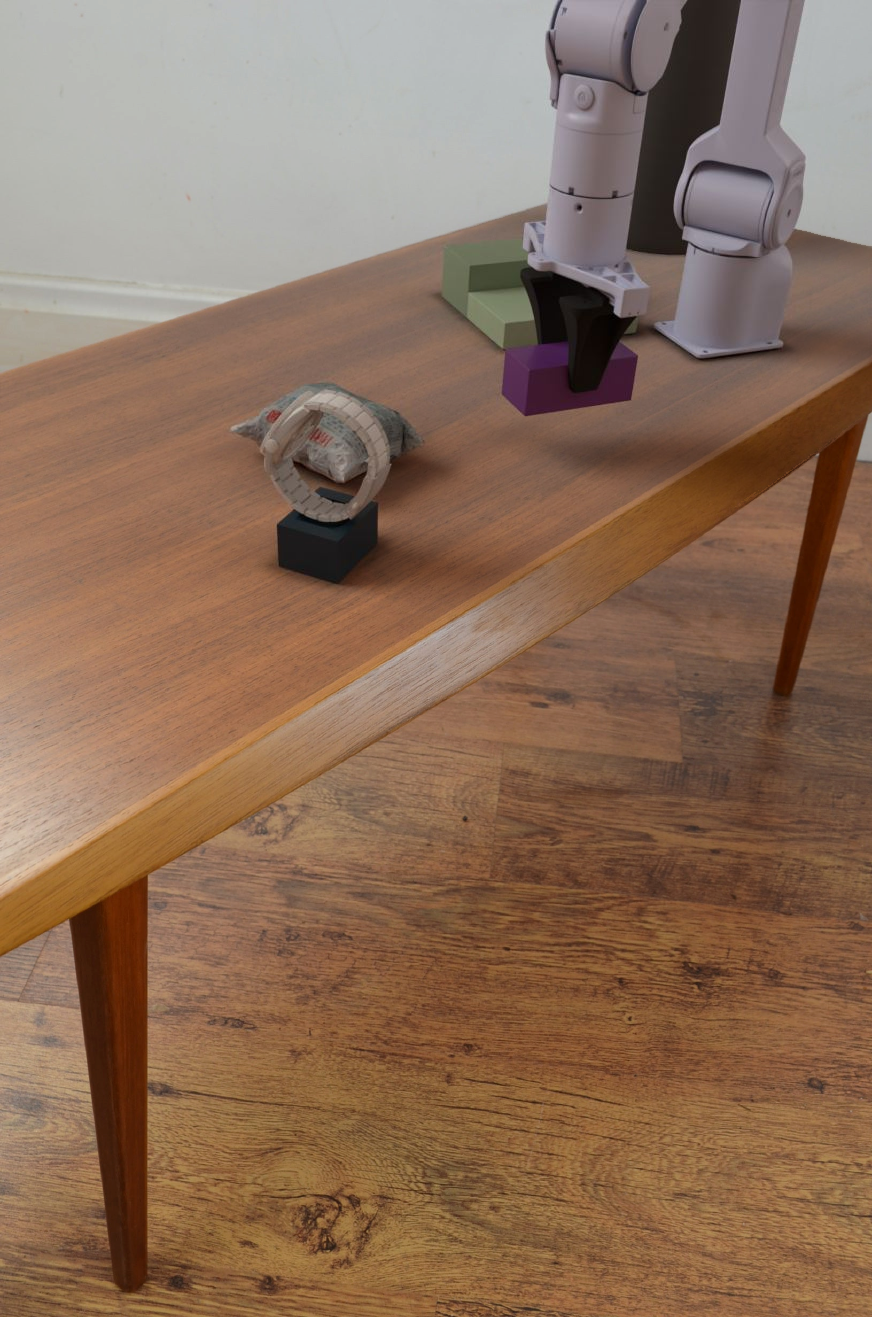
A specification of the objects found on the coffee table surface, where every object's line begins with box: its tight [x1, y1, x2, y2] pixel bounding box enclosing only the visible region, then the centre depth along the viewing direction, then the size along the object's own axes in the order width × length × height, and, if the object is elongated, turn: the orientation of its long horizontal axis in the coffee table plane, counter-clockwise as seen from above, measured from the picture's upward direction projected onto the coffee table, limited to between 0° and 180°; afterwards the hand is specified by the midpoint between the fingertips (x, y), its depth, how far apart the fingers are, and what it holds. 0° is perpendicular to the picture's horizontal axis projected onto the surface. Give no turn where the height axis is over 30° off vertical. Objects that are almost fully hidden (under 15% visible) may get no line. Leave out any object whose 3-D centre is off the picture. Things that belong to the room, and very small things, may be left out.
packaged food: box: [229, 381, 425, 484], centre depth 84 cm, size 9×12×5 cm
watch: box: [259, 389, 392, 585], centre depth 72 cm, size 6×8×11 cm
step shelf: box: [441, 237, 639, 350], centre depth 110 cm, size 14×14×5 cm
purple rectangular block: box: [501, 341, 639, 417], centre depth 85 cm, size 9×4×4 cm, turn 113°
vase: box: [626, 0, 741, 255], centre depth 124 cm, size 14×14×29 cm
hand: (568, 376), depth 86 cm, fingers closed on purple rectangular block, 4 cm apart
